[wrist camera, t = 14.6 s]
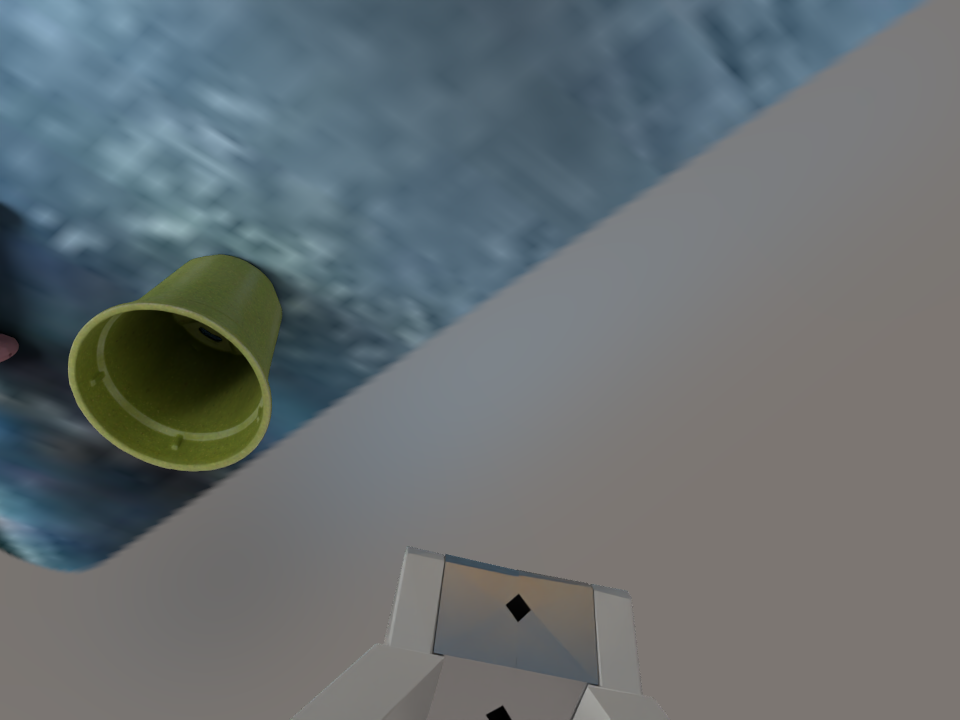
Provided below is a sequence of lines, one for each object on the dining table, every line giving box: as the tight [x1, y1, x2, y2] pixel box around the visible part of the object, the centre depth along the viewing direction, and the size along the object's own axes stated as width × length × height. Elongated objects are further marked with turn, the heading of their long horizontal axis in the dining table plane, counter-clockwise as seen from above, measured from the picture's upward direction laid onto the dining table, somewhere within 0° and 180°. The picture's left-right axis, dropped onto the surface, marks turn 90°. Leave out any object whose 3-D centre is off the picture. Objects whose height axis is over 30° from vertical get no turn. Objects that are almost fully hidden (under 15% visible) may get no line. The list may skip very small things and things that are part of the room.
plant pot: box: [68, 254, 282, 471], centre depth 44 cm, size 9×9×9 cm
